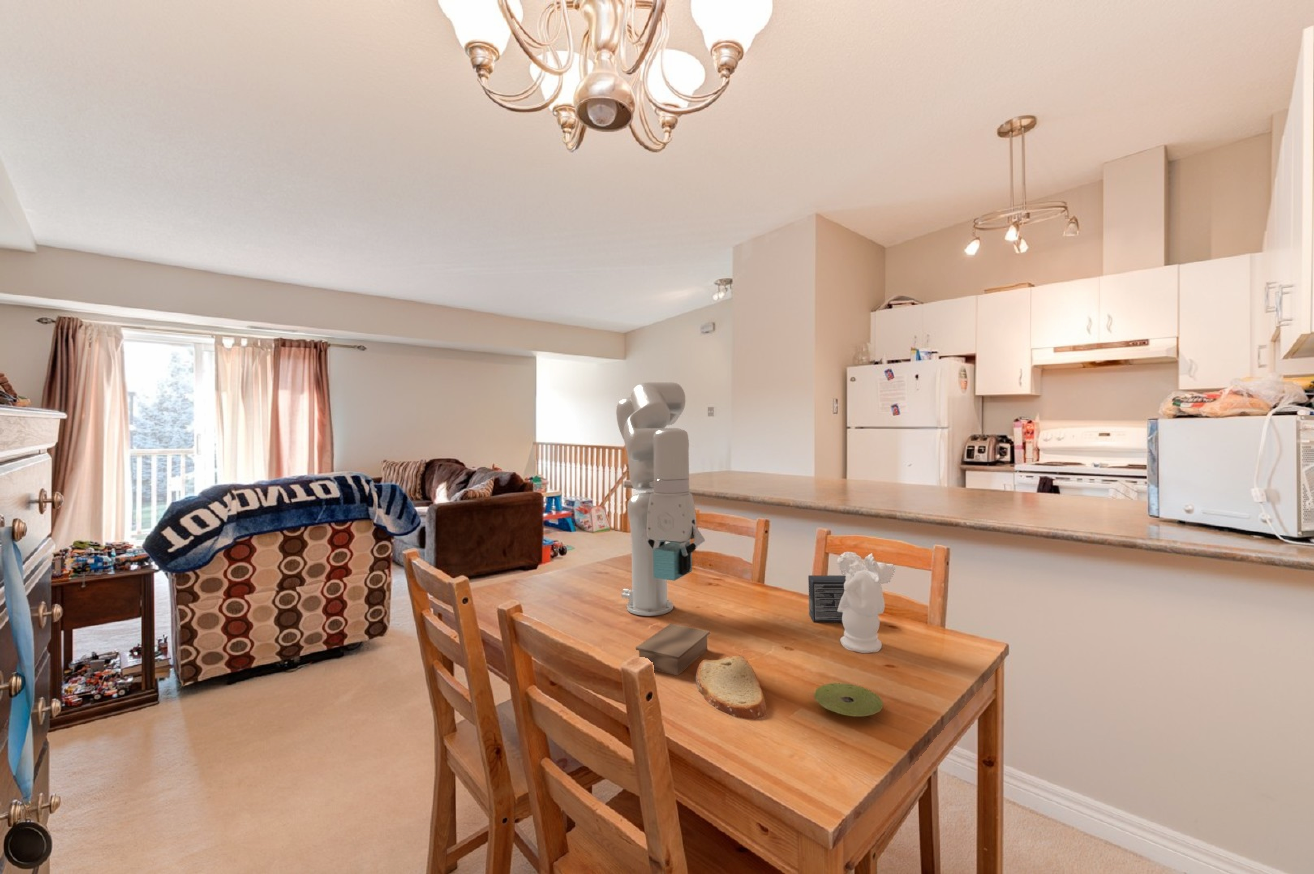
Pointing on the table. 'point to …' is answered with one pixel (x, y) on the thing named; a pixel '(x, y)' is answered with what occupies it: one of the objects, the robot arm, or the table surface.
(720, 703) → the slice of bread
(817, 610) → the small box
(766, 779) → the table surface
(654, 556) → the block
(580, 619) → the table surface
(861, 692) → the green disc
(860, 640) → the cherub figurine
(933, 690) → the table surface
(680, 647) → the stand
